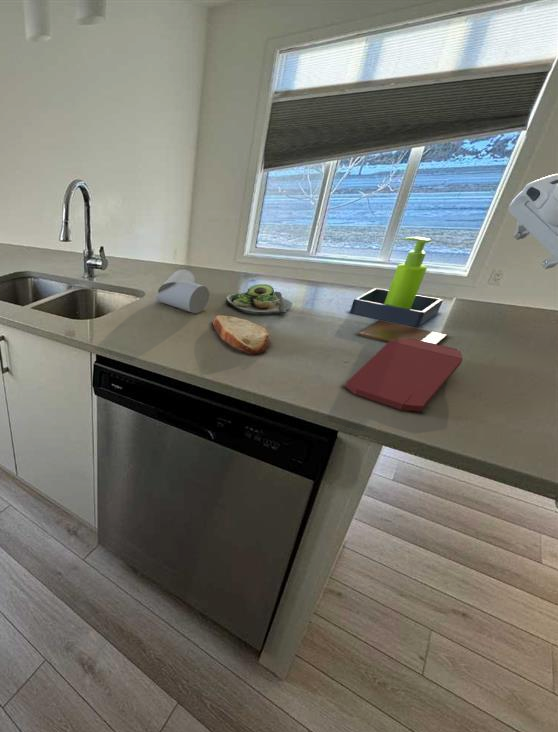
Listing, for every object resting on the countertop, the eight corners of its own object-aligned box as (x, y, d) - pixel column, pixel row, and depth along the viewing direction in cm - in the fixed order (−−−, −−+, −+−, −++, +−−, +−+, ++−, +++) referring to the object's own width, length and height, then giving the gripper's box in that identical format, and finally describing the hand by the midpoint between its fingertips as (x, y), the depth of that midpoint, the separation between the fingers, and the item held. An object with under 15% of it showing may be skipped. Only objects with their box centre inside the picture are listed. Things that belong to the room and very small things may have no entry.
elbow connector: (138, 298, 135) (183, 314, 120) (144, 266, 131) (192, 278, 116) (174, 297, 144) (221, 312, 129) (181, 267, 140) (230, 279, 124)
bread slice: (218, 319, 117) (220, 307, 116) (285, 333, 106) (288, 319, 104) (188, 340, 107) (189, 327, 105) (258, 358, 95) (261, 343, 94)
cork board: (446, 337, 97) (447, 334, 97) (427, 352, 91) (428, 350, 91) (378, 322, 107) (379, 319, 107) (358, 335, 102) (358, 332, 101)
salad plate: (310, 314, 115) (314, 299, 112) (249, 321, 114) (252, 305, 112) (272, 294, 132) (275, 280, 129) (219, 300, 131) (221, 286, 129)
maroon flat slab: (410, 429, 74) (462, 367, 84) (419, 409, 72) (472, 347, 81) (338, 403, 83) (393, 349, 93) (343, 384, 80) (399, 331, 90)
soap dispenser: (387, 307, 115) (414, 234, 105) (413, 314, 109) (444, 238, 99) (372, 311, 113) (397, 237, 103) (397, 319, 108) (427, 241, 98)
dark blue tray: (437, 313, 109) (443, 299, 107) (418, 327, 102) (424, 312, 100) (370, 300, 120) (375, 287, 118) (349, 312, 114) (353, 299, 112)
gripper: (638, 232, 75) (584, 279, 86) (558, 167, 85) (520, 217, 96) (594, 245, 77) (547, 289, 88) (521, 179, 87) (487, 227, 98)
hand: (532, 251), depth 92 cm, fingers open, 8 cm apart
